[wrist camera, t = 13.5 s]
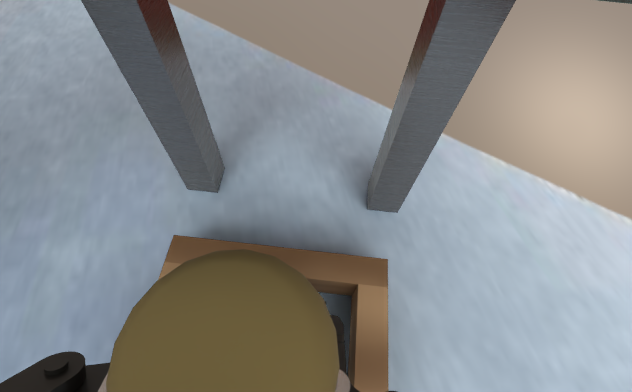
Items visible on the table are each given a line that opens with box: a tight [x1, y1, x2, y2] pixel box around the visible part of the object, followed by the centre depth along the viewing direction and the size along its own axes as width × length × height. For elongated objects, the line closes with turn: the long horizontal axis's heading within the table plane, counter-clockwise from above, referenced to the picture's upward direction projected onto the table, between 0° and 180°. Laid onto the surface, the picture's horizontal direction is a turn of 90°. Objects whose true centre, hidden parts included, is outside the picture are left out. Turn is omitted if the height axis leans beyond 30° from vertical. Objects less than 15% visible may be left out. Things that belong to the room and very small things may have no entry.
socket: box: [158, 235, 388, 392], centre depth 16 cm, size 12×12×2 cm
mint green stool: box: [81, 0, 632, 213], centre depth 12 cm, size 10×14×20 cm
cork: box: [106, 249, 340, 392], centre depth 11 cm, size 6×6×11 cm
